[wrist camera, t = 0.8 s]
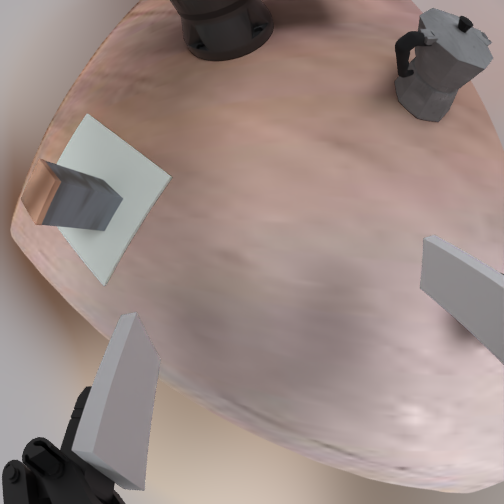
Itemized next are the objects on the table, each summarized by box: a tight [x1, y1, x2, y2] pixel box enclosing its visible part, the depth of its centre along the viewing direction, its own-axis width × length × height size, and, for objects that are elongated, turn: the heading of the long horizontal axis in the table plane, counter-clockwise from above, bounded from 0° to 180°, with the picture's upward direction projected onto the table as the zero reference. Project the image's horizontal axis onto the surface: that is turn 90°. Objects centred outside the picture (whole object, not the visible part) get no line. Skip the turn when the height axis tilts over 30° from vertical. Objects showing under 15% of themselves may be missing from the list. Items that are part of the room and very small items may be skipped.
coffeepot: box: [394, 8, 493, 122], centre depth 21 cm, size 15×9×18 cm, turn 111°
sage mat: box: [57, 114, 172, 286], centre depth 40 cm, size 26×20×1 cm
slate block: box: [21, 158, 123, 231], centre depth 32 cm, size 6×6×14 cm
